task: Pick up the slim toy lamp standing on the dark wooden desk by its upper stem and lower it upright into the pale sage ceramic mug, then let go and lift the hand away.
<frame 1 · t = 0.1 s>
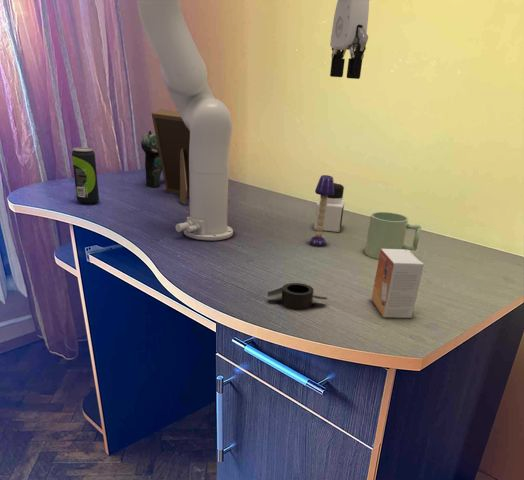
hand: (344, 77, 123), 37 cm above the table, tool pointing down, fingers open, 9 cm apart
beverage can: (88, 203, 153), on the table
mug: (382, 254, 126), on the table
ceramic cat: (165, 184, 183), on the table
photo frame: (185, 199, 165), on the table
medicine bottle: (327, 228, 144), on the table
small box: (390, 310, 97), on the table
black ring with tabs: (296, 304, 97), on the table
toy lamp: (318, 245, 130), on the table
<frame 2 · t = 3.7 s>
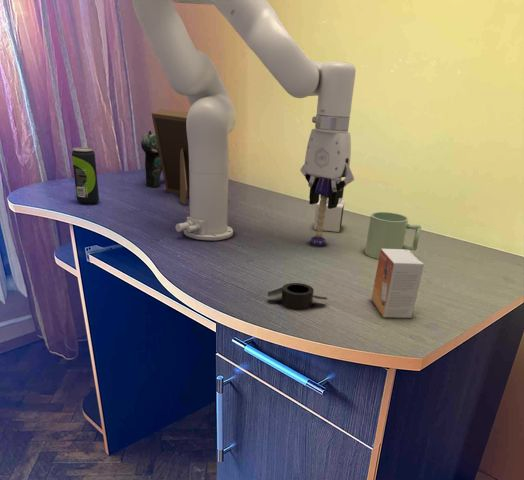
hand: (323, 204, 125), 10 cm above the table, tool pointing down, fingers closed on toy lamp, 4 cm apart
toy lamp: (318, 245, 130), on the table, touching gripper
everything else where it was.
when the fingers open (10 cm above the table, at t = 10.7 s): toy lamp stays where it is, resting on mug.
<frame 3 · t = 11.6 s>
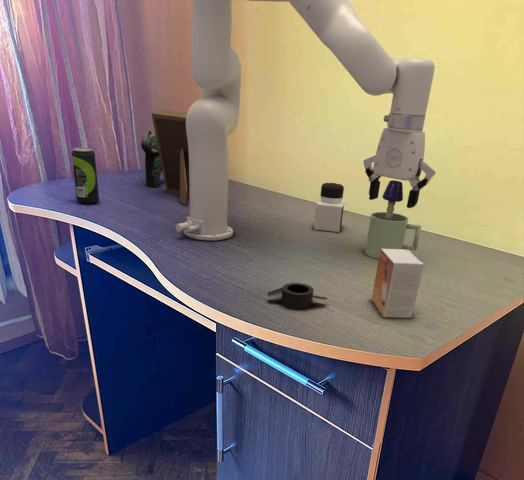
hand: (391, 203, 120), 12 cm above the table, tool pointing down, fingers open, 9 cm apart
mug: (382, 254, 126), on the table, touching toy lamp
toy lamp: (382, 252, 126), resting on mug
everything else where it was.
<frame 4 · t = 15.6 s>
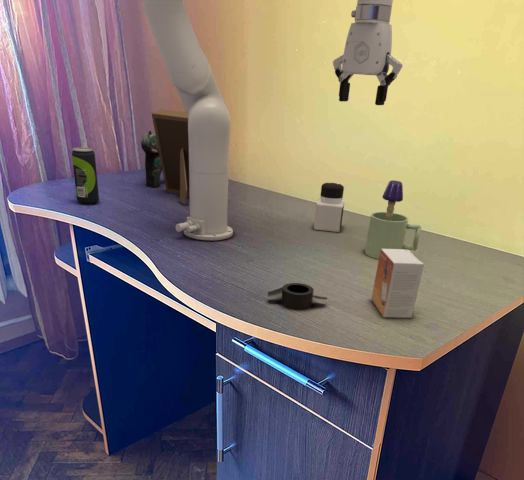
hand: (361, 103, 121), 32 cm above the table, tool pointing down, fingers open, 9 cm apart
nothing on the table moved.
at the end: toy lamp 0.1 cm off-centre in the mug, point 0.4 cm above the mug's base; the gripper is holding nothing; mug tilted 0° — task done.
